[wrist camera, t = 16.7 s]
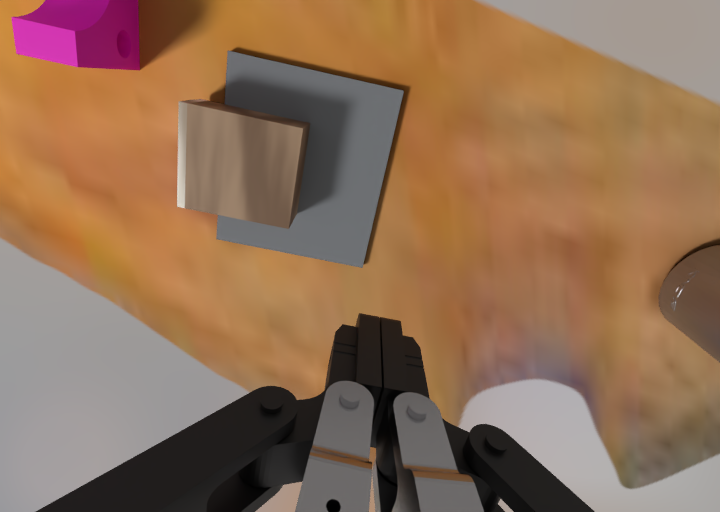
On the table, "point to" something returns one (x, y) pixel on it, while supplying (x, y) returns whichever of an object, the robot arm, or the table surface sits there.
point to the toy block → (81, 33)
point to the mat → (320, 155)
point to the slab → (240, 162)
